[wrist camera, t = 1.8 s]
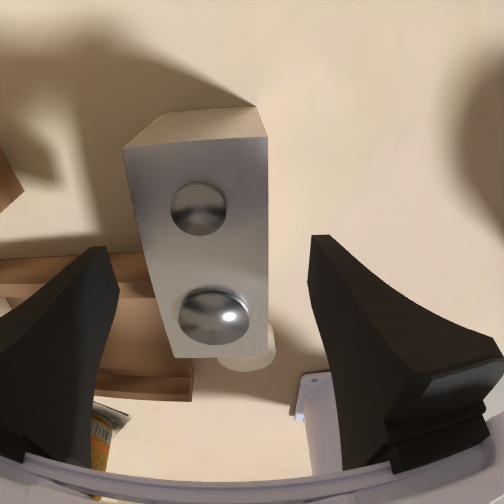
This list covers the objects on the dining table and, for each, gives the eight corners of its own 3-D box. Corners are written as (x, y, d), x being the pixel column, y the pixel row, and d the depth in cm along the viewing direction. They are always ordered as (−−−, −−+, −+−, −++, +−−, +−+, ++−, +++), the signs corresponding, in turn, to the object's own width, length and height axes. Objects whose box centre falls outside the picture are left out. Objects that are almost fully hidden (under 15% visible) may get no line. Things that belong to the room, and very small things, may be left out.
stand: (162, 251, 16) (153, 281, 14) (193, 373, 23) (191, 401, 21) (-2, 259, 16) (-21, 283, 14) (58, 365, 22) (49, 389, 20)
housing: (256, 106, 13) (268, 139, 8) (259, 275, 18) (268, 360, 13) (162, 113, 13) (118, 151, 8) (187, 278, 18) (173, 363, 13)
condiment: (56, 414, 28) (35, 504, 19) (63, 387, 25) (34, 499, 15) (113, 437, 31) (100, 526, 21) (132, 415, 27) (117, 526, 17)
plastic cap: (273, 309, 19) (276, 334, 18) (272, 346, 21) (275, 370, 20) (213, 312, 19) (212, 337, 18) (219, 349, 21) (218, 372, 20)
